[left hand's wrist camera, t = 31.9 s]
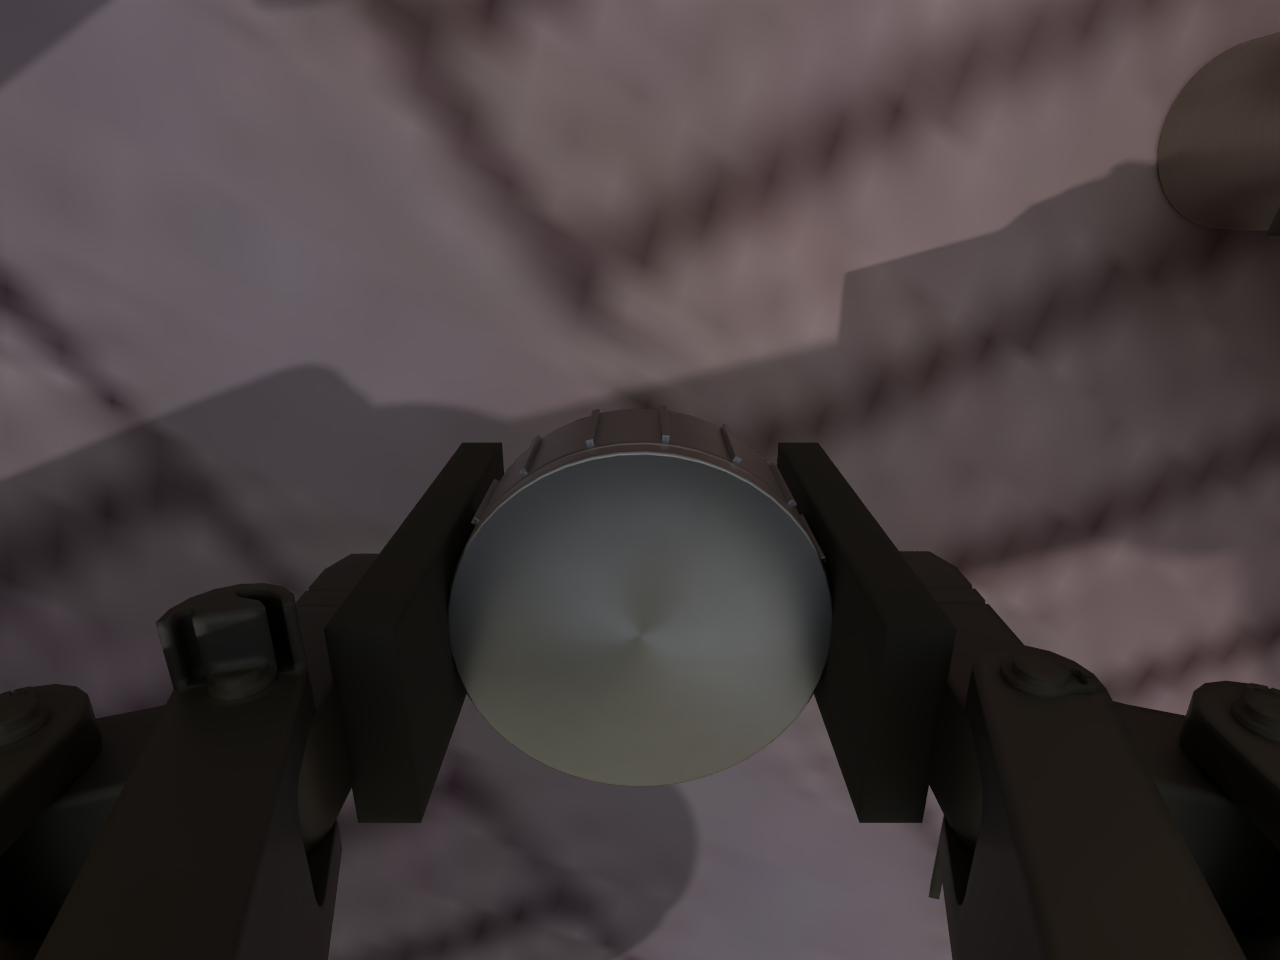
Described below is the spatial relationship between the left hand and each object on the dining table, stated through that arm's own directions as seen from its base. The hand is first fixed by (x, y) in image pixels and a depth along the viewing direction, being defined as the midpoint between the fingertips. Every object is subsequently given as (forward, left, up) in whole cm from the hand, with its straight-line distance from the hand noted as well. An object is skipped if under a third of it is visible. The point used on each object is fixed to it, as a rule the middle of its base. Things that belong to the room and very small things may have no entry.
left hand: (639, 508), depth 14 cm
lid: (0, 0, +4) cm, 4 cm away
